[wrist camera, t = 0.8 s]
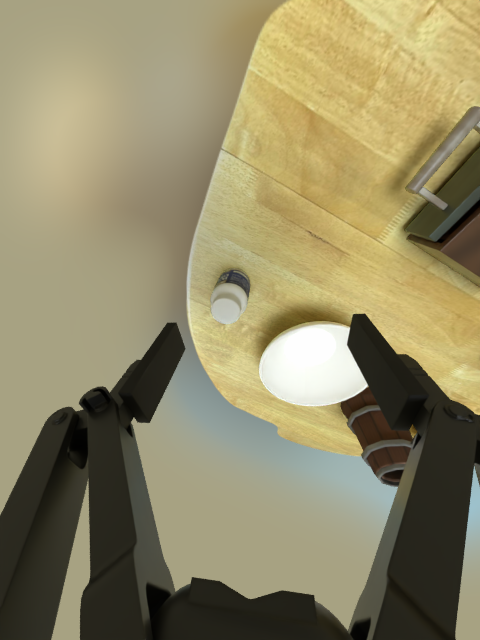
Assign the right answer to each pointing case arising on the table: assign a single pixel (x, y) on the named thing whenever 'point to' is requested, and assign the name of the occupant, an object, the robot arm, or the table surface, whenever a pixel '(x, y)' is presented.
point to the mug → (377, 437)
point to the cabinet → (458, 248)
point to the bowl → (311, 365)
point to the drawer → (448, 186)
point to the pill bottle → (230, 296)
